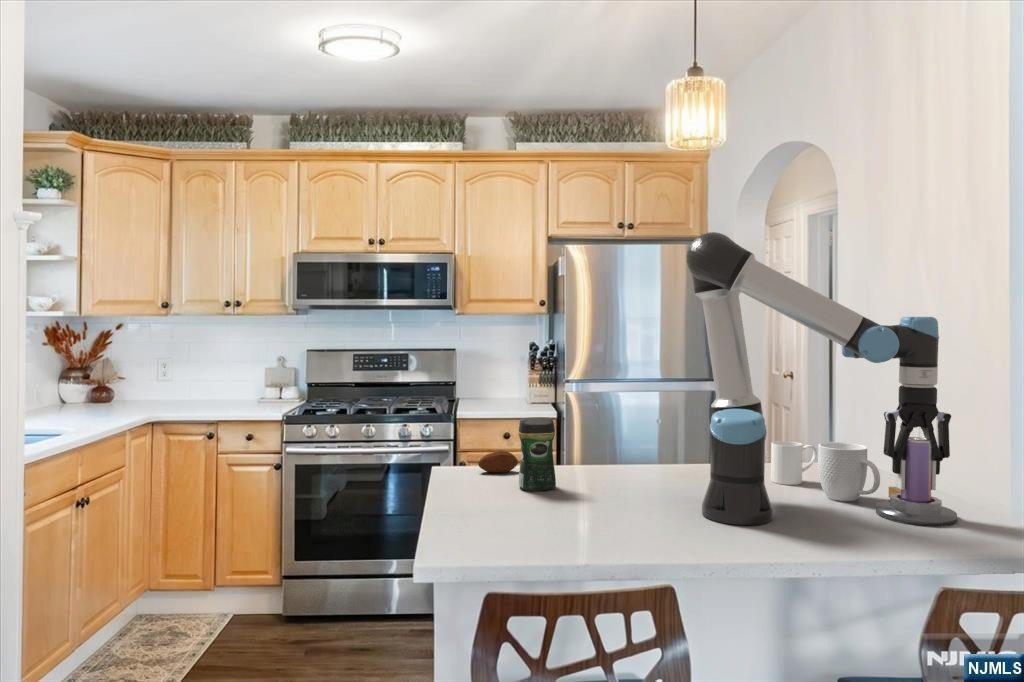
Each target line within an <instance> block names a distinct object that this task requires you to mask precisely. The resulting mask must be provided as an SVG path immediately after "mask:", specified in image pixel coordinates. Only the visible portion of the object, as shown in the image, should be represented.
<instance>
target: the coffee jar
mask: <svg viewBox="0 0 1024 682" xmlns="http://www.w3.org/2000/svg"><path fill="white" fill-rule="evenodd" d="M518 425H519V426H518V433H517V434H518V437H519V439H520V461H519V463H520V464H519V471H518V472H519V473H518V486H519V488H520V489H521V490H525V491H529V492H530V491H531V492H535V491H536V492H537V491H548V490H552V489H554V488H556V486H557V484H556V483H557V482H556V480H557V478H556V471H555V470H556V469H555V462H554V449H553V448H554V447H553V446H554V445H553V443H554V439H555V436H556V429H555V423H554V420H553V418H551V417H547V416H546V417H543V416H541V417H540V416H536V417H535V416H533V417H522V418H520V420H519V423H518Z"/></svg>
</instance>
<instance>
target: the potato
mask: <svg viewBox="0 0 1024 682" xmlns="http://www.w3.org/2000/svg"><path fill="white" fill-rule="evenodd" d="M518 464H519V460H518V458H517V457H516V456H515V455H514V454H513V453H511V452H510V451H508V450H503V449H498V450H497V449H496V450H495V451H493V452H490V453H487V454H484V455H483V456H482V457H481V458H480V459H479V461H478V463H477V465H478V467H479V468H480V469H482V470H483V471H485V472H487V473H488V472H489V473H498V474H500V473H501V474H505V473H508V472H510V471H512V470H514V469H515V468H516V467H517V466H518Z"/></svg>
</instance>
